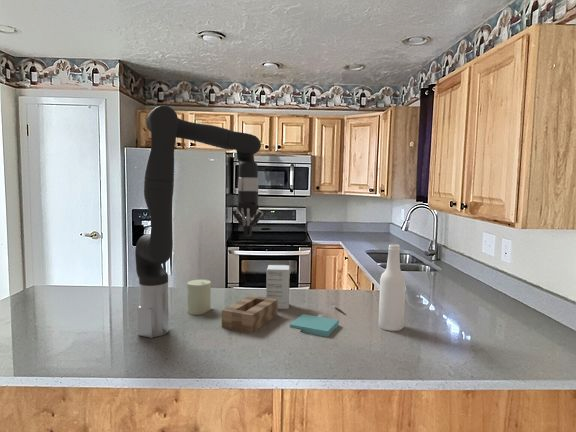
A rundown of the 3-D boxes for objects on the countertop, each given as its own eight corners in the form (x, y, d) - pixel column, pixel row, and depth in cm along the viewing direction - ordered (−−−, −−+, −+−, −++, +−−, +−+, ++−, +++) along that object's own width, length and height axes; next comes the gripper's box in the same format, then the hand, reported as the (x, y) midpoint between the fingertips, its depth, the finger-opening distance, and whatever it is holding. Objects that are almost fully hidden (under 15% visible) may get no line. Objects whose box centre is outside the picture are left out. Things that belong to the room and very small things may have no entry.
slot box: (251, 335, 134) (252, 315, 133) (221, 329, 139) (221, 310, 138) (277, 317, 152) (277, 299, 151) (249, 312, 157) (249, 295, 156)
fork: (342, 316, 156) (342, 311, 156) (325, 304, 171) (325, 299, 170) (348, 315, 157) (348, 310, 156) (330, 303, 172) (330, 299, 171)
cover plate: (289, 331, 140) (327, 338, 134) (289, 324, 140) (327, 331, 134) (302, 320, 151) (338, 326, 145) (303, 313, 150) (338, 320, 145)
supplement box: (288, 311, 159) (289, 269, 158) (265, 310, 159) (266, 269, 158) (289, 304, 169) (289, 264, 167) (267, 303, 169) (267, 264, 167)
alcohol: (386, 332, 138) (389, 247, 136) (374, 323, 147) (377, 243, 144) (408, 330, 141) (412, 246, 138) (395, 322, 149) (398, 242, 147)
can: (197, 316, 152) (197, 285, 151) (182, 311, 157) (182, 281, 156) (215, 310, 159) (215, 280, 158) (200, 305, 164) (200, 277, 163)
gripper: (227, 189, 148) (227, 235, 149) (259, 190, 142) (258, 238, 144) (237, 189, 155) (237, 233, 156) (268, 190, 149) (267, 236, 151)
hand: (247, 235), depth 150 cm, fingers closed
